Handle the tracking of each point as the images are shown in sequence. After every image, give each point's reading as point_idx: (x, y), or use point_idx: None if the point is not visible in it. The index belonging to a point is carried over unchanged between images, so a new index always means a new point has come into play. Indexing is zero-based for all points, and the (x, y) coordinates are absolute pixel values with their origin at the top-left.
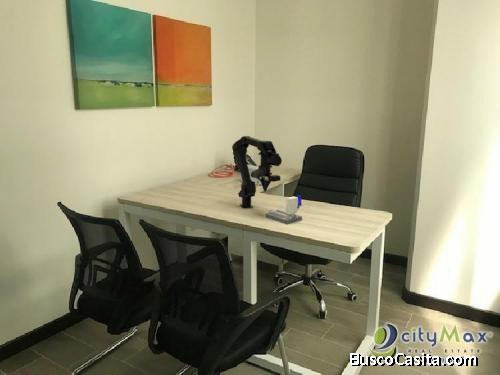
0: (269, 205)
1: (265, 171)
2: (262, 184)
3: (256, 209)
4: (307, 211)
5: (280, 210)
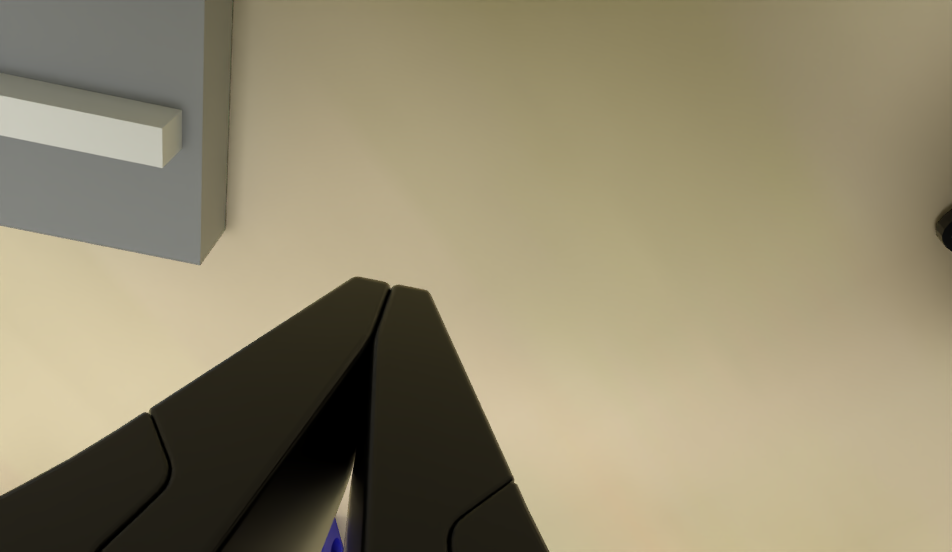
0: (700, 501)
1: None
2: (436, 520)
3: (792, 161)
4: None
5: (34, 116)
